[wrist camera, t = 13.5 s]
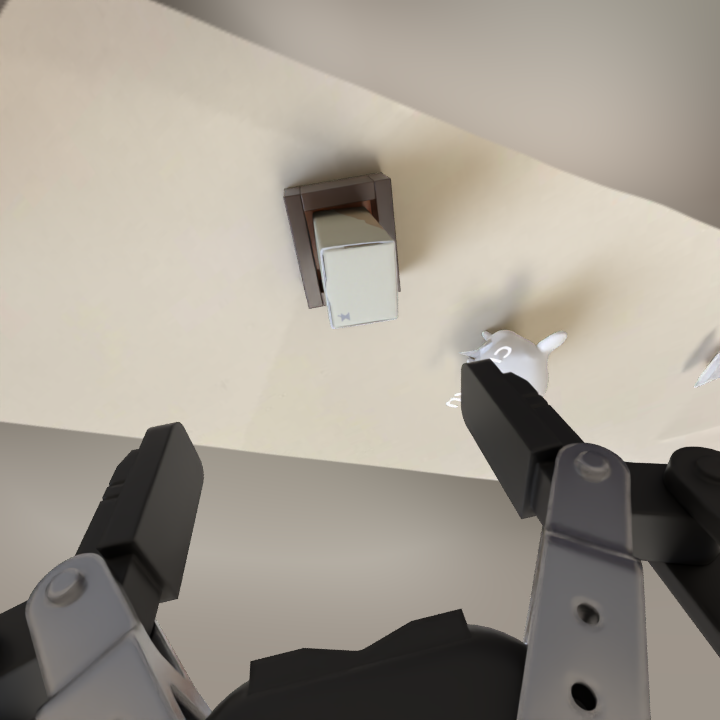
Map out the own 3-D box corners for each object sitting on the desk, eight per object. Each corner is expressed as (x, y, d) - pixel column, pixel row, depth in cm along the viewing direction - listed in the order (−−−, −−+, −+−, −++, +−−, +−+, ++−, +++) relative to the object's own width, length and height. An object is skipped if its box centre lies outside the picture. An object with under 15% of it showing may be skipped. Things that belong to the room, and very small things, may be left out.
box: (369, 266, 34) (399, 324, 24) (319, 273, 33) (330, 334, 24) (365, 201, 31) (397, 239, 22) (310, 208, 31) (318, 249, 21)
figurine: (538, 299, 41) (472, 288, 35) (610, 343, 35) (546, 337, 29) (483, 391, 46) (419, 394, 40) (538, 442, 40) (472, 453, 35)
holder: (307, 293, 35) (309, 309, 32) (284, 189, 30) (283, 196, 27) (391, 277, 35) (400, 291, 32) (381, 172, 30) (390, 177, 28)
